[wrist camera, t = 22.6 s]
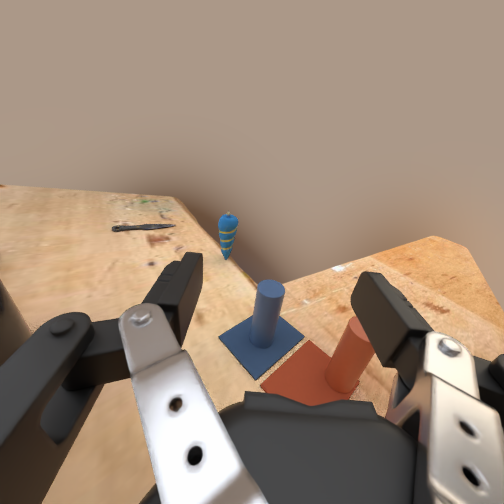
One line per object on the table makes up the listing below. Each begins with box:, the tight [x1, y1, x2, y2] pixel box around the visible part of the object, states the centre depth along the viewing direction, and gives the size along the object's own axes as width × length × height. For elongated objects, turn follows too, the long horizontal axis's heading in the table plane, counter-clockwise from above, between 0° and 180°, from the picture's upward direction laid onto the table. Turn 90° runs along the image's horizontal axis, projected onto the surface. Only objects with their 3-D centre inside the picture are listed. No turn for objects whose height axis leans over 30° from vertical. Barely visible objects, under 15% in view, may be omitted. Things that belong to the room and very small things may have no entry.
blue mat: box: [219, 315, 304, 380], centre depth 41 cm, size 10×13×1 cm
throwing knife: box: [112, 224, 175, 232], centre depth 74 cm, size 4×20×1 cm, turn 113°
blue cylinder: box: [250, 280, 285, 348], centre depth 37 cm, size 4×4×12 cm
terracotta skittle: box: [325, 316, 375, 393], centre depth 32 cm, size 4×4×12 cm
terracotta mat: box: [260, 340, 360, 406], centre depth 34 cm, size 10×13×1 cm
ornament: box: [218, 212, 238, 260], centre depth 59 cm, size 5×5×15 cm
